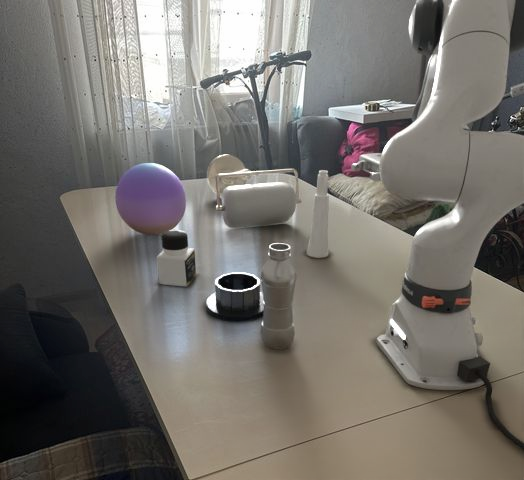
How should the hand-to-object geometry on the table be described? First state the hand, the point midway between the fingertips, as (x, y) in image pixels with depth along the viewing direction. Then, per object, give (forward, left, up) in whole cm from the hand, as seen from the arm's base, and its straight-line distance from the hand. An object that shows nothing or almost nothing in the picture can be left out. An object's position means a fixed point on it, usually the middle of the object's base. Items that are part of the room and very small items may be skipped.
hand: (361, 172), depth 132 cm
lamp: (+34, +31, -21) cm, 51 cm away
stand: (-35, +31, -21) cm, 51 cm away
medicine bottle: (-21, +46, -21) cm, 55 cm away
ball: (+12, +57, -21) cm, 62 cm away
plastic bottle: (-51, +23, -21) cm, 60 cm away
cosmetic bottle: (-4, +10, -21) cm, 24 cm away
